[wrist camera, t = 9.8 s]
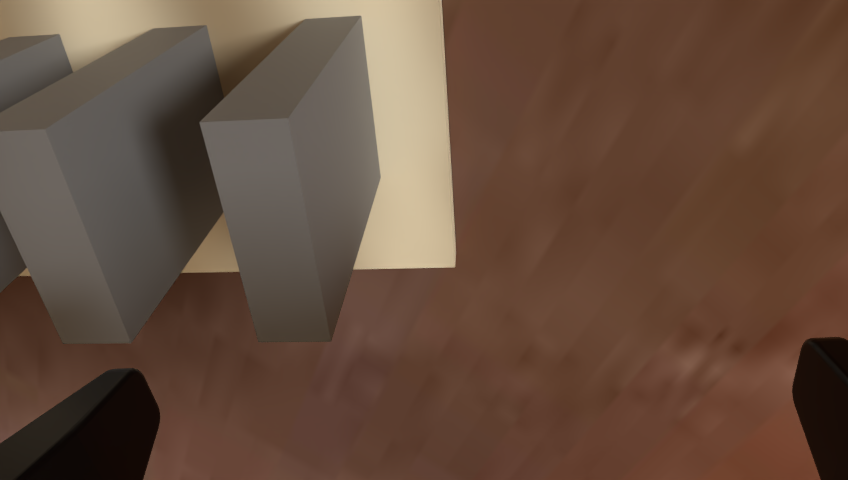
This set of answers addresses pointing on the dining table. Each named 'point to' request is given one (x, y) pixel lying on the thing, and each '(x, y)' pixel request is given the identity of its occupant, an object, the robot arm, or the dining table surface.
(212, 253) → the domino board
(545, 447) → the dining table surface
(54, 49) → the domino
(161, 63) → the domino
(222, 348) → the dining table surface
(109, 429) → the robot arm
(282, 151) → the domino
